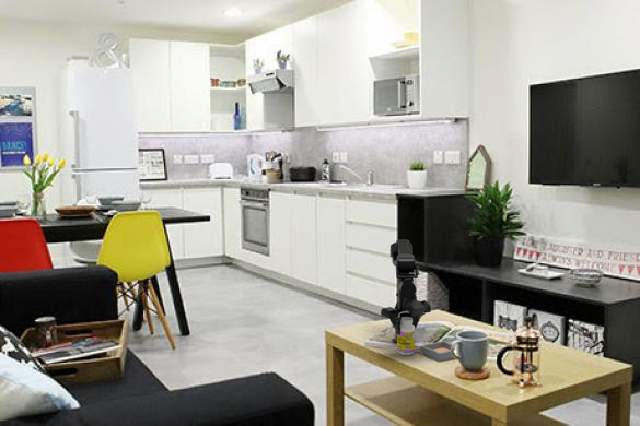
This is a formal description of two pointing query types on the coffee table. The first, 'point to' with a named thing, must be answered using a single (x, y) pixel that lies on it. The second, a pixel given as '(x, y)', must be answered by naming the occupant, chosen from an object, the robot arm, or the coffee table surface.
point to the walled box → (437, 351)
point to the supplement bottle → (406, 337)
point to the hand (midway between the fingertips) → (406, 332)
